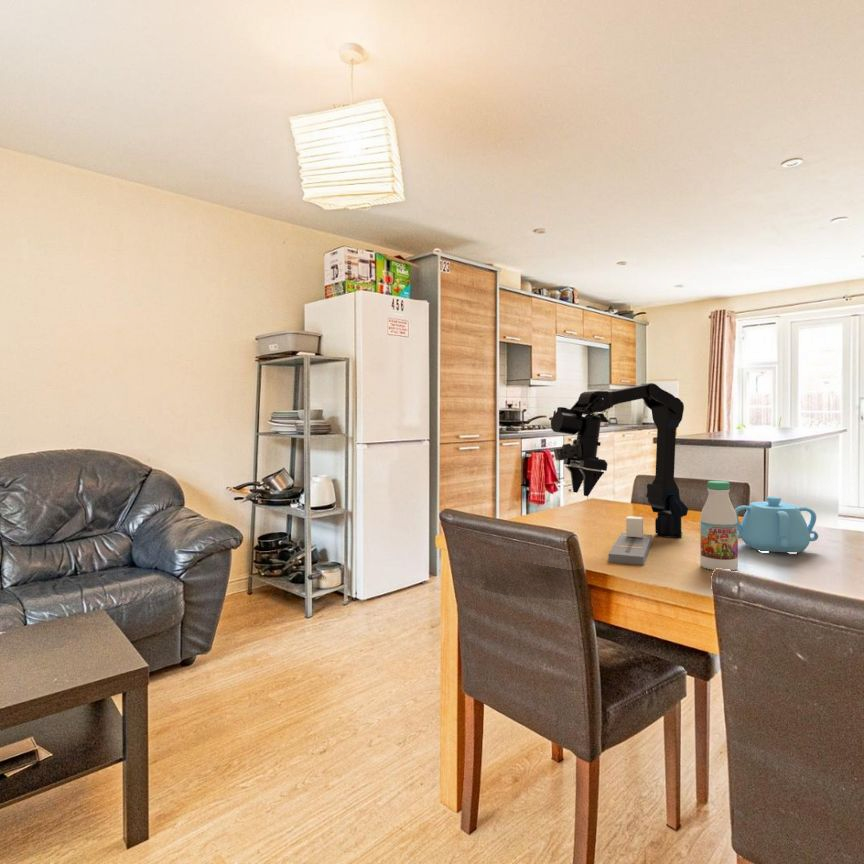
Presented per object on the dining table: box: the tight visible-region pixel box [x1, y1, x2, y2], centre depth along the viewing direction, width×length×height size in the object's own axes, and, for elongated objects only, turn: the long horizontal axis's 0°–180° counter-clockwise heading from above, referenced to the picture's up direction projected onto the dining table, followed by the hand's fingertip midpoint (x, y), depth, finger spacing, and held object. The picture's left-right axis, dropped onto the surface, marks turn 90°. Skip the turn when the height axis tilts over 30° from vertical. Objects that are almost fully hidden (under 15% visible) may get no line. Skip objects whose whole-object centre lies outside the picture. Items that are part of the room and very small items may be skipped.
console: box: [607, 532, 653, 566], centre depth 144 cm, size 8×24×2 cm, turn 154°
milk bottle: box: [699, 480, 739, 571], centre depth 128 cm, size 8×8×20 cm
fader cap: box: [625, 515, 644, 538], centre depth 151 cm, size 4×3×5 cm
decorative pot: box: [734, 496, 819, 553], centre depth 142 cm, size 16×16×14 cm
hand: (580, 494), depth 151 cm, fingers open, 9 cm apart
